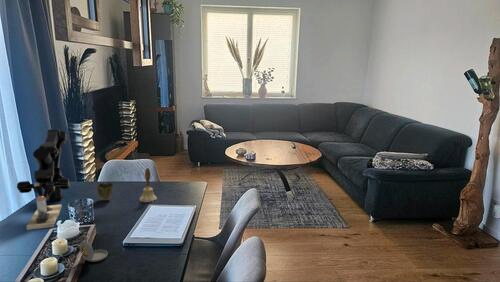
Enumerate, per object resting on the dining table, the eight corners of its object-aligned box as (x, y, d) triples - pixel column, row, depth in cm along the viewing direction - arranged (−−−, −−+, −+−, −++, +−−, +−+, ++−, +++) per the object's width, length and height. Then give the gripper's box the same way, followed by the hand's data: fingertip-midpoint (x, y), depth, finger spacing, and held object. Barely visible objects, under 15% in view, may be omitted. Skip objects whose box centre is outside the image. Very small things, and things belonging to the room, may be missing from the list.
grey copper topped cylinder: (38, 216, 137) (36, 194, 135) (49, 215, 139) (47, 193, 137) (36, 220, 134) (33, 197, 132) (47, 219, 135) (45, 196, 133)
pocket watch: (110, 252, 116) (109, 225, 114) (100, 266, 108) (98, 238, 106) (87, 252, 116) (84, 225, 113) (75, 265, 107) (72, 237, 105)
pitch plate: (38, 209, 148) (38, 203, 147) (61, 207, 151) (61, 201, 150) (26, 229, 130) (26, 222, 129) (53, 226, 133) (52, 219, 132)
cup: (96, 203, 156) (95, 187, 155) (98, 197, 163) (97, 182, 162) (113, 202, 158) (112, 186, 157) (114, 196, 165) (114, 181, 164)
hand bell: (158, 195, 168) (157, 165, 165) (155, 202, 160) (154, 170, 157) (141, 196, 167) (140, 165, 164) (137, 202, 159) (136, 170, 156)
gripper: (15, 163, 135) (10, 198, 127) (66, 160, 142) (64, 193, 134) (22, 175, 144) (18, 209, 136) (70, 172, 150) (69, 204, 143)
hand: (42, 203), depth 137 cm, fingers closed, pressing on grey copper topped cylinder
